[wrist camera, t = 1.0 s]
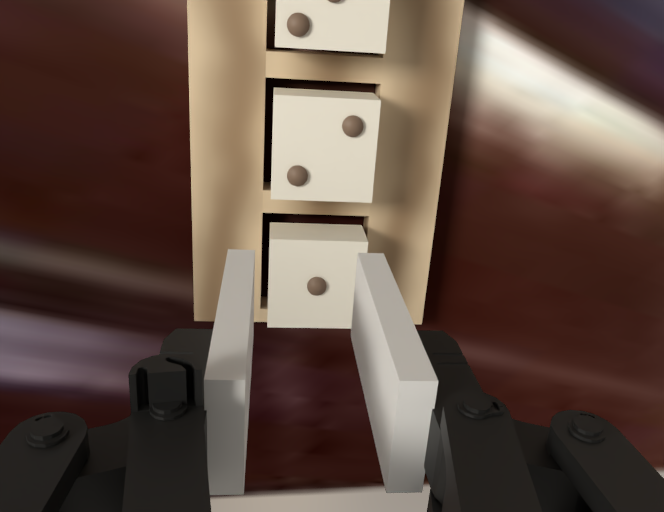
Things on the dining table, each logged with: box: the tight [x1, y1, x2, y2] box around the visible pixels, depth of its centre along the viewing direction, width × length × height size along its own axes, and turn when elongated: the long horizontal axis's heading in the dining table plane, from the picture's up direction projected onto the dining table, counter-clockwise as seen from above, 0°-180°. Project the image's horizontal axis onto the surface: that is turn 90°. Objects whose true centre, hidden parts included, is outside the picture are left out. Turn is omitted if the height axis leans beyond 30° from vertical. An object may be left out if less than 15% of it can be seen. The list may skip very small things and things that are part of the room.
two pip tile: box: [271, 87, 381, 203], centre depth 37 cm, size 6×6×3 cm
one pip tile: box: [267, 222, 368, 329], centre depth 40 cm, size 6×6×3 cm
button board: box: [187, 0, 464, 324], centre depth 40 cm, size 16×26×2 cm, turn 176°
